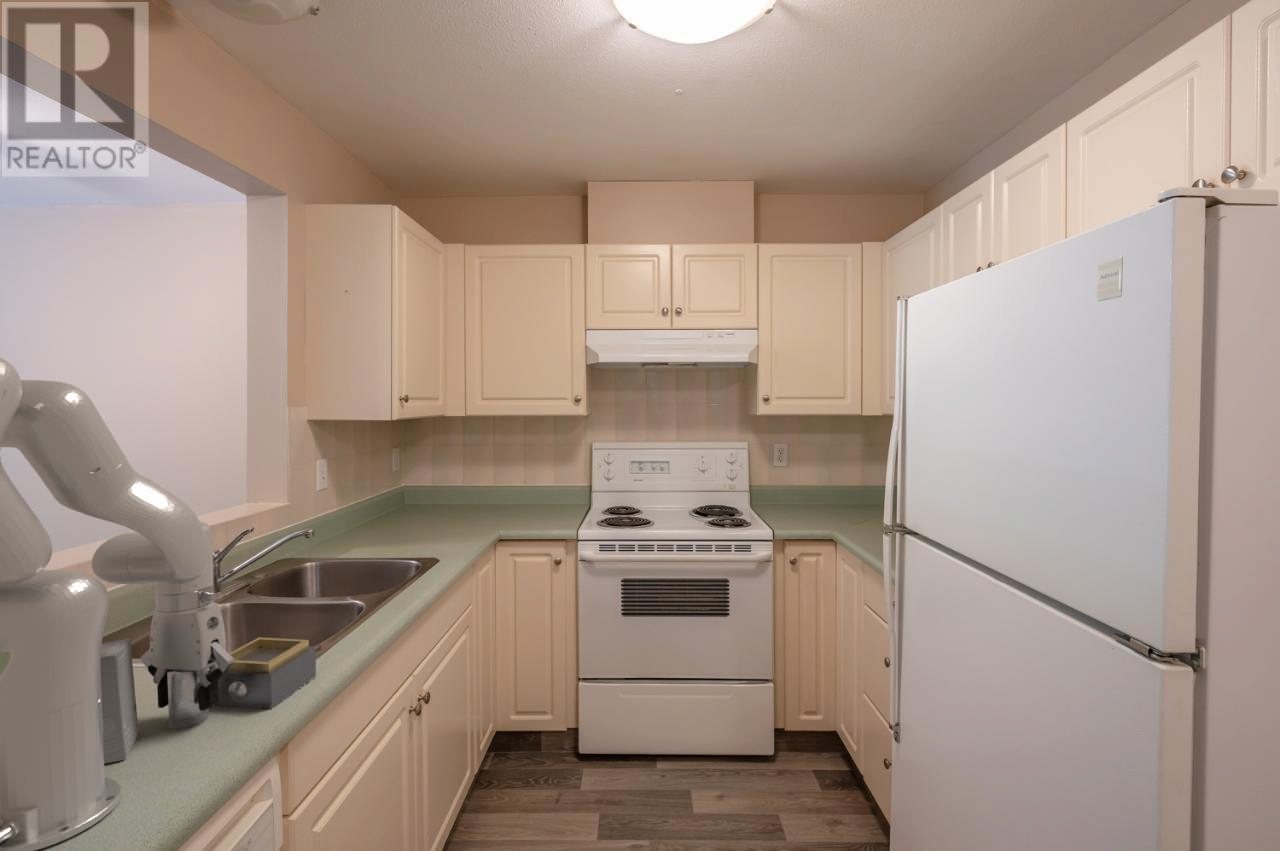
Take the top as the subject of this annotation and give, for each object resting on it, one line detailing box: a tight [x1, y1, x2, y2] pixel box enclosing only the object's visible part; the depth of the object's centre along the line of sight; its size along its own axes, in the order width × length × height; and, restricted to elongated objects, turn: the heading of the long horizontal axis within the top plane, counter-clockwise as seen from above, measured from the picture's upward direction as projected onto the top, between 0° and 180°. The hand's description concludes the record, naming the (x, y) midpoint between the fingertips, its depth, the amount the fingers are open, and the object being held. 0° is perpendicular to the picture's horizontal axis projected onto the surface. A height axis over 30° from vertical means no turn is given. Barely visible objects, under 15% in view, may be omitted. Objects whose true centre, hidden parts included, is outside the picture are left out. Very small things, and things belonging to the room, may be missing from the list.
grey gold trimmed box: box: [207, 636, 317, 710], centre depth 106 cm, size 12×12×8 cm
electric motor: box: [167, 663, 210, 730], centre depth 97 cm, size 6×5×10 cm
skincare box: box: [100, 637, 139, 765], centre depth 87 cm, size 8×7×16 cm
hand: (188, 704), depth 96 cm, fingers open, 6 cm apart
